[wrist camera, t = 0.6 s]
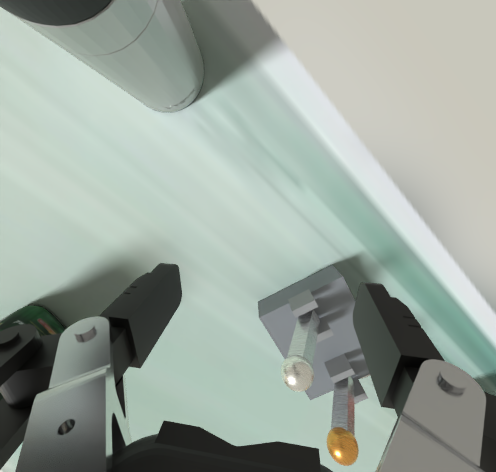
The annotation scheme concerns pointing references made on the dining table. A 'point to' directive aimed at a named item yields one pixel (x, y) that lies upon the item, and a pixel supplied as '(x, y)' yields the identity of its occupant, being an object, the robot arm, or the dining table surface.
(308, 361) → the lever white
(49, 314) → the coffee jar
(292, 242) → the dining table surface
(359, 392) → the console
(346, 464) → the lever orange
